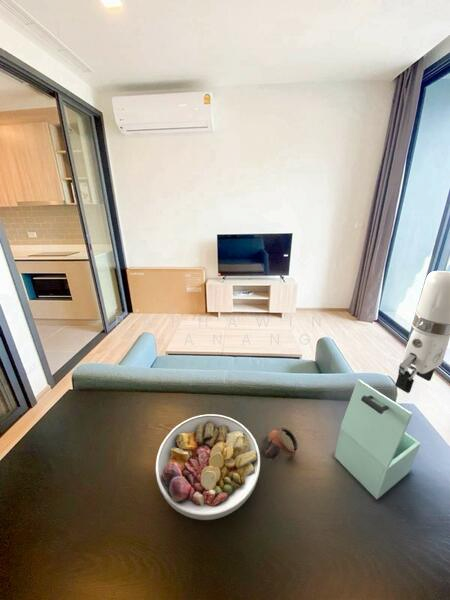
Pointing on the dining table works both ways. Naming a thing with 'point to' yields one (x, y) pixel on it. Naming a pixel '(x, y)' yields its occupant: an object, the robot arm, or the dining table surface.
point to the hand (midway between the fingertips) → (412, 383)
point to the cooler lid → (375, 422)
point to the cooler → (376, 463)
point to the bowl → (208, 466)
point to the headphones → (279, 444)
